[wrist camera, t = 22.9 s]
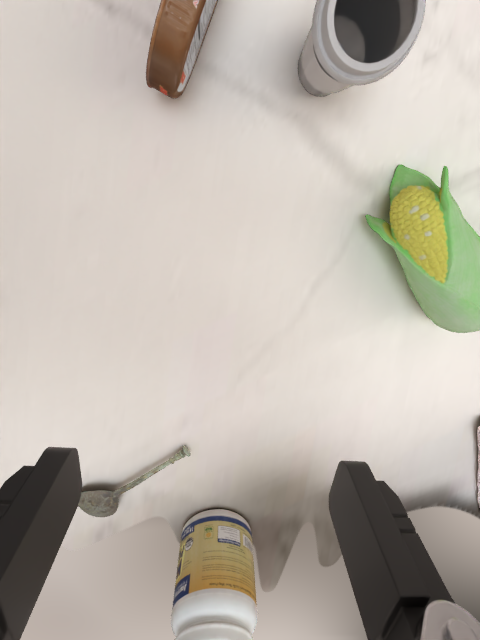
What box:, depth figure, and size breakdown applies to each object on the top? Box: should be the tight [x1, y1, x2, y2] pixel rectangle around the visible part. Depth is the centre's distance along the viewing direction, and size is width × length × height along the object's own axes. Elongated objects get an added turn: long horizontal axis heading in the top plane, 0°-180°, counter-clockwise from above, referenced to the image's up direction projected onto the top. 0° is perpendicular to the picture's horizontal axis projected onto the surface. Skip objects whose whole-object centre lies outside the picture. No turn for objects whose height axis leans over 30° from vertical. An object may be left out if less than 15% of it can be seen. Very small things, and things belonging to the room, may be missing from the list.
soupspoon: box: [78, 446, 190, 517], centre depth 51 cm, size 22×3×7 cm
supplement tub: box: [171, 509, 257, 640], centre depth 50 cm, size 12×12×17 cm
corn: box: [365, 165, 480, 333], centre depth 35 cm, size 8×8×20 cm
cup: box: [298, 0, 426, 96], centre depth 25 cm, size 7×7×12 cm
